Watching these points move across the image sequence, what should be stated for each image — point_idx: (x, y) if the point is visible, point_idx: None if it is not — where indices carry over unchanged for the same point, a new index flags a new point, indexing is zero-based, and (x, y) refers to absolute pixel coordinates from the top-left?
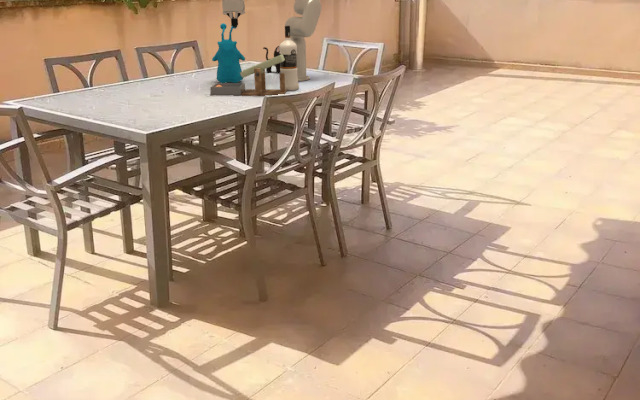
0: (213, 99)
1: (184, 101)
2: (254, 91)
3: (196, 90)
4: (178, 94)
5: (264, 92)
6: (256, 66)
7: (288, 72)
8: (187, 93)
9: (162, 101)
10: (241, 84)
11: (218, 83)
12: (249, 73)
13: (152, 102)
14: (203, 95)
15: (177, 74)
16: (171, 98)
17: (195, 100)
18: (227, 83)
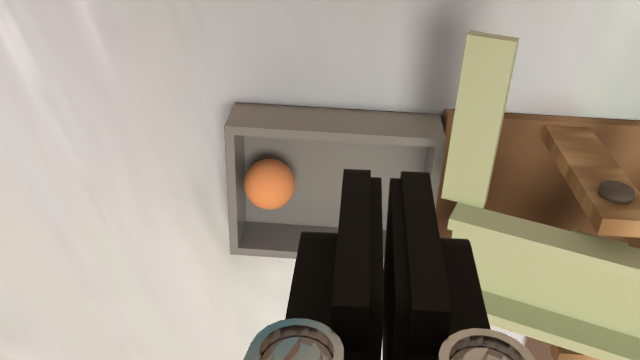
0: (283, 312)
1: (149, 342)
2: (508, 189)
3: (81, 54)
4: (28, 179)
5: (574, 221)
6: (580, 350)
7: None
8: (68, 153)
9: (39, 336)
10: (419, 143)
11: (247, 135)
12: (507, 296)
13: (3, 351)
14: (193, 214)
15: None
16: (47, 277)
17: (196, 326)
18: (314, 139)
